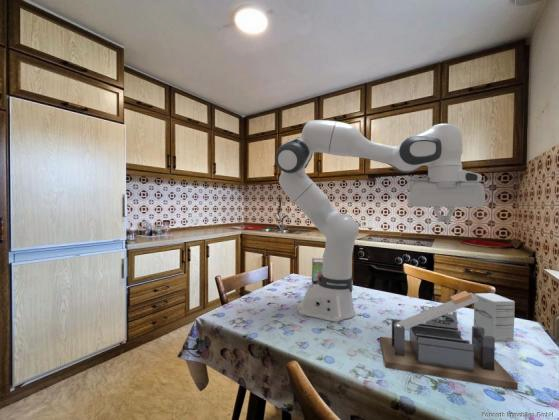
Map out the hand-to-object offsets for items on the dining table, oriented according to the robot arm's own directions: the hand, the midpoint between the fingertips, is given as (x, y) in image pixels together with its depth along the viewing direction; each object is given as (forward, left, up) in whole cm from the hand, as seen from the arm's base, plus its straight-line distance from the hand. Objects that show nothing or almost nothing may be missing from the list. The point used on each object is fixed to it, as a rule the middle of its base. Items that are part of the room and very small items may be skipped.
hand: (443, 221), depth 78 cm
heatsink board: (-5, -13, -37) cm, 40 cm away
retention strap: (-6, -13, -25) cm, 29 cm away
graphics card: (+2, +12, -38) cm, 40 cm away
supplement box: (+17, +8, -37) cm, 42 cm away
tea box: (-39, +39, -37) cm, 67 cm away
